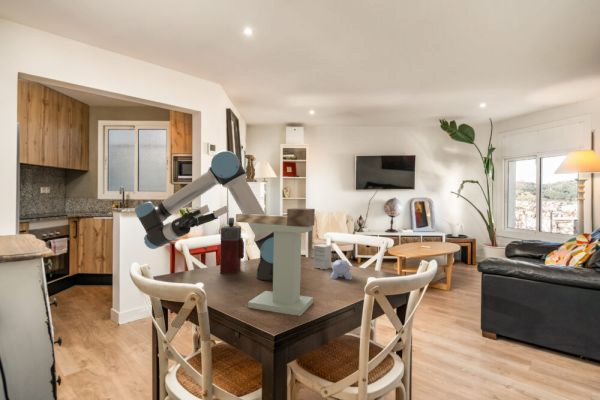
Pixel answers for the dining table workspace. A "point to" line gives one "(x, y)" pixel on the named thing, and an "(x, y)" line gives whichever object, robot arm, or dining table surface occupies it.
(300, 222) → the mallet
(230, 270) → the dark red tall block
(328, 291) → the dining table surface
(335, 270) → the hippopotamus toy
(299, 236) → the stand
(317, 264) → the supplement box
